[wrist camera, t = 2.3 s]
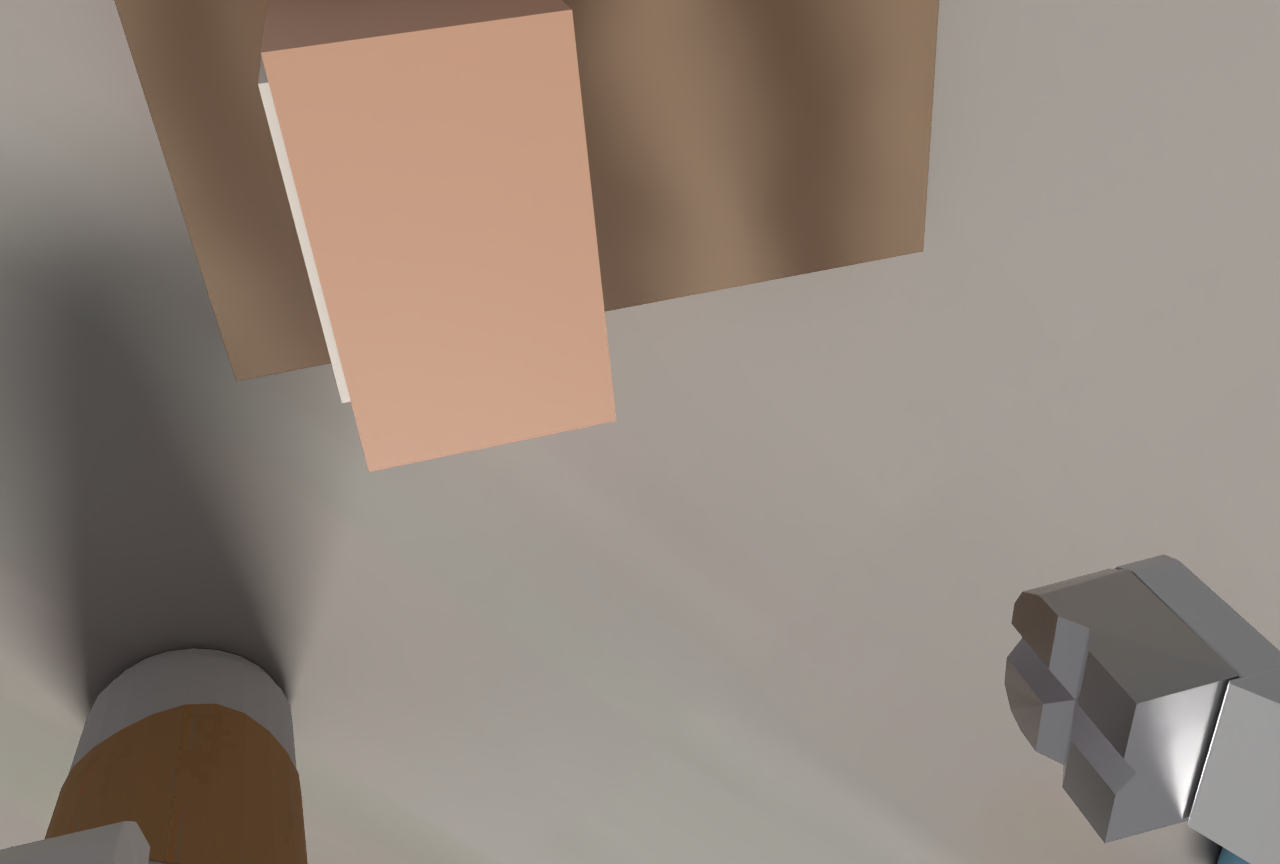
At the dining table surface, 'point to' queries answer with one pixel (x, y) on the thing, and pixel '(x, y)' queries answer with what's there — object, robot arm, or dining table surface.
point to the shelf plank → (592, 149)
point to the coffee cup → (190, 763)
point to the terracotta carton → (443, 216)
